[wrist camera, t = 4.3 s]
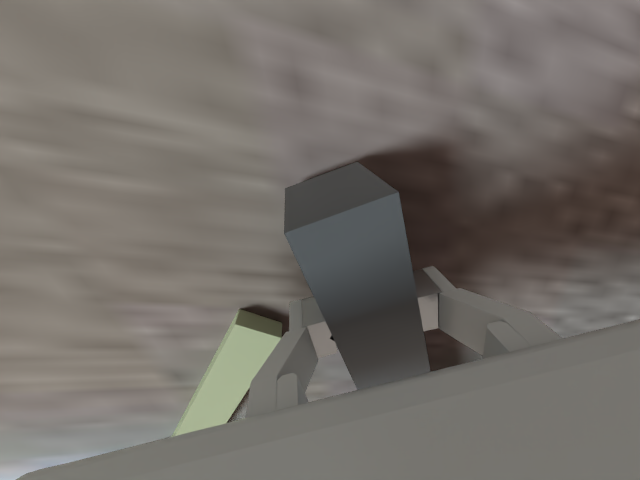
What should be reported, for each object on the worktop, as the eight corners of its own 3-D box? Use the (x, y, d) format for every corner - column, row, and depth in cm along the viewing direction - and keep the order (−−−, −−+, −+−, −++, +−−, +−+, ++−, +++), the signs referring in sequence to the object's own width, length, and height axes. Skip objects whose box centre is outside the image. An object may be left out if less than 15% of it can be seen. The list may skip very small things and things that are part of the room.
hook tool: (285, 188, 10) (284, 233, 6) (615, 65, 9) (829, 36, 5) (380, 414, 19) (402, 484, 15) (547, 362, 18) (610, 423, 14)
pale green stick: (240, 303, 13) (235, 324, 12) (282, 317, 14) (281, 338, 13) (169, 438, 18) (159, 464, 17) (203, 443, 19) (197, 468, 17)
